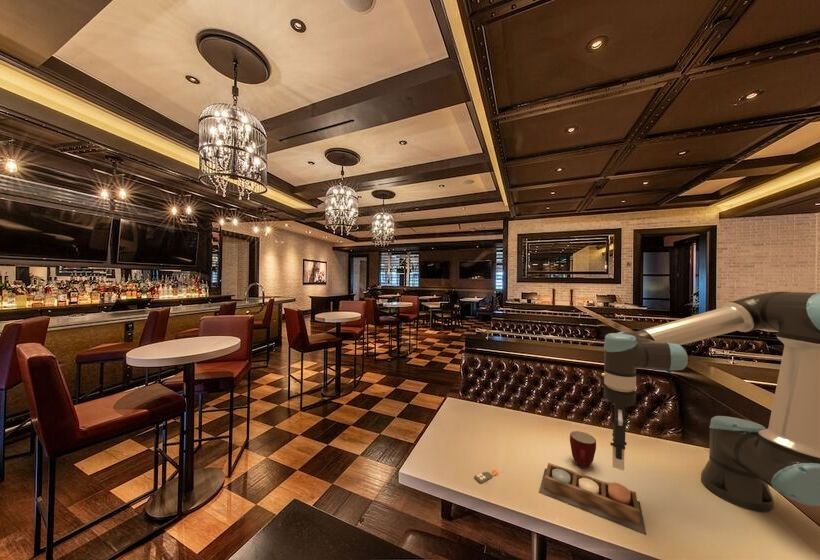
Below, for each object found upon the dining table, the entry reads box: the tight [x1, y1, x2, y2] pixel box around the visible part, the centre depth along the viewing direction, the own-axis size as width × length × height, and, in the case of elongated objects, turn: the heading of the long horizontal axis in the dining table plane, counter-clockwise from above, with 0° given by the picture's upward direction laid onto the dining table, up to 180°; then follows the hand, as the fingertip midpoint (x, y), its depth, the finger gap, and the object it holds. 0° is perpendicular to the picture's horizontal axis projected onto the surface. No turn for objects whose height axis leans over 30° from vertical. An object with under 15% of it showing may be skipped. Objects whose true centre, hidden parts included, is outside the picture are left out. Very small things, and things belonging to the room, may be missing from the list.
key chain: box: [473, 469, 502, 485], centre depth 96 cm, size 13×4×2 cm, turn 120°
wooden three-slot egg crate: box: [538, 462, 647, 536], centre depth 87 cm, size 26×13×4 cm, turn 57°
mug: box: [569, 430, 597, 469], centre depth 101 cm, size 11×8×10 cm
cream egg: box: [579, 478, 599, 495], centre depth 87 cm, size 5×5×3 cm
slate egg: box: [552, 469, 570, 484], centre depth 91 cm, size 5×5×3 cm
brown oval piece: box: [608, 482, 630, 506], centre depth 83 cm, size 5×5×3 cm
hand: (618, 467), depth 83 cm, fingers closed
